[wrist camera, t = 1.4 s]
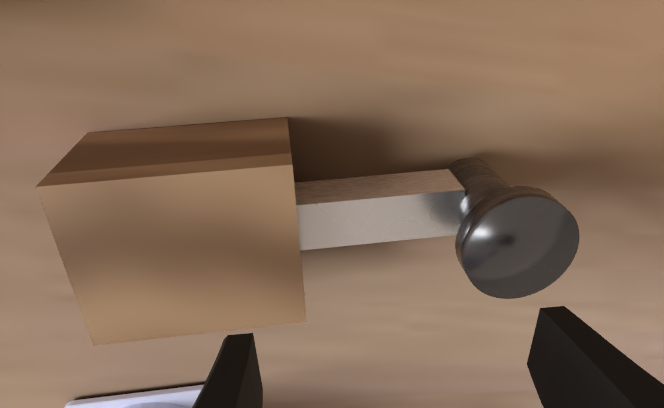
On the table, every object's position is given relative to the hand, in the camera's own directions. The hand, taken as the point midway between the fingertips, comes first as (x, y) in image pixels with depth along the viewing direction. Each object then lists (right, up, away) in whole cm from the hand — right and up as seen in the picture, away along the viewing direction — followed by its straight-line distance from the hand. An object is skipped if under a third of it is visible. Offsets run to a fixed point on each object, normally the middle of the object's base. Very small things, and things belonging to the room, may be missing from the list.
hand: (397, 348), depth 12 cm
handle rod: (-2, +4, +9) cm, 10 cm away
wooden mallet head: (-7, +4, +9) cm, 12 cm away
